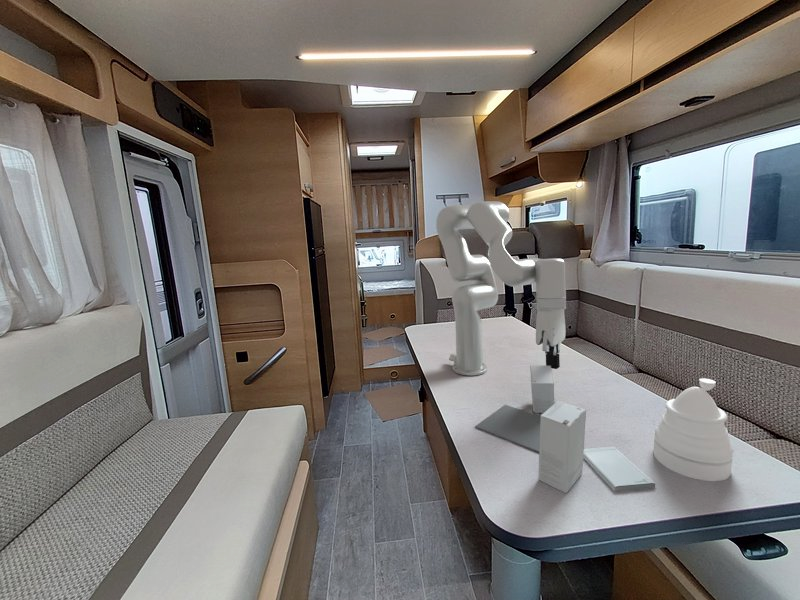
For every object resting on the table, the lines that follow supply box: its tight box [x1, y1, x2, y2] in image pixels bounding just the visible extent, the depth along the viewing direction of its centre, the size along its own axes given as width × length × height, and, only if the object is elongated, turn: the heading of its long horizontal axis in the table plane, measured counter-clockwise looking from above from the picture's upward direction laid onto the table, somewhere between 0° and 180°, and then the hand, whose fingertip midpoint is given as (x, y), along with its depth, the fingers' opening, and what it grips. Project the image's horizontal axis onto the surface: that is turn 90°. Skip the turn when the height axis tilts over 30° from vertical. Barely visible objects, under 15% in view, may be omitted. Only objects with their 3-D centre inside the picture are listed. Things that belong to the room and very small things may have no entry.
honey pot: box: [652, 377, 734, 482], centre depth 75 cm, size 13×13×18 cm
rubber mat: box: [474, 404, 541, 454], centre depth 92 cm, size 20×16×1 cm
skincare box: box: [538, 400, 587, 494], centre depth 72 cm, size 8×6×15 cm
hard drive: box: [583, 445, 656, 492], centre depth 75 cm, size 2×8×12 cm
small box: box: [529, 364, 555, 414], centre depth 100 cm, size 8×6×10 cm
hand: (552, 367), depth 101 cm, fingers closed
